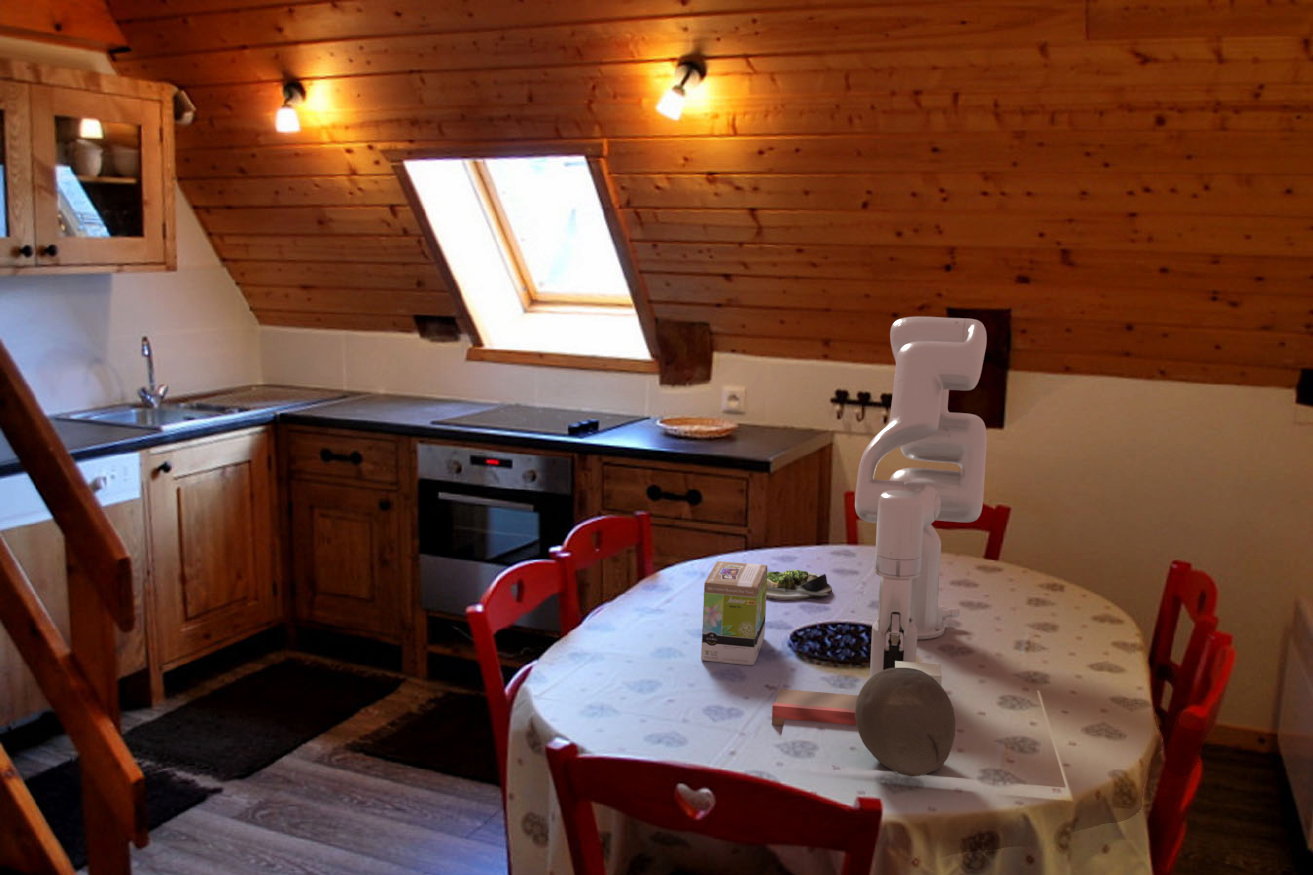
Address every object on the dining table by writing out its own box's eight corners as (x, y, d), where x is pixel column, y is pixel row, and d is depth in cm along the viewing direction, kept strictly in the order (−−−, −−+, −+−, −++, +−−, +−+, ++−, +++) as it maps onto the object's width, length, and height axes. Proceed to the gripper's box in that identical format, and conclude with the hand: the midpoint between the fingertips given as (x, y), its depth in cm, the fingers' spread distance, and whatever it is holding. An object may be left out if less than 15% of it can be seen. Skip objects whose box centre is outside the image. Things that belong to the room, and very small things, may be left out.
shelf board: (939, 709, 198) (940, 690, 197) (942, 739, 186) (943, 720, 185) (778, 695, 202) (779, 677, 202) (771, 724, 191) (772, 705, 190)
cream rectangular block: (937, 712, 193) (940, 664, 192) (938, 725, 188) (941, 676, 187) (892, 708, 195) (895, 660, 193) (892, 721, 190) (895, 672, 188)
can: (864, 677, 211) (867, 611, 209) (907, 676, 211) (910, 610, 209) (875, 694, 203) (879, 625, 201) (919, 693, 204) (923, 624, 202)
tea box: (756, 666, 215) (758, 586, 213) (699, 662, 217) (701, 582, 215) (765, 638, 230) (768, 562, 227) (713, 634, 232) (714, 558, 229)
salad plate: (749, 606, 249) (749, 584, 248) (730, 580, 266) (730, 560, 266) (840, 603, 252) (841, 581, 251) (815, 577, 270) (816, 557, 269)
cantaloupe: (952, 755, 181) (957, 659, 178) (952, 799, 167) (959, 695, 165) (855, 744, 184) (860, 650, 181) (848, 787, 170) (853, 685, 168)
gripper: (875, 550, 213) (871, 644, 215) (874, 577, 196) (869, 679, 199) (919, 552, 211) (914, 647, 214) (922, 580, 194) (916, 683, 197)
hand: (892, 662), depth 206 cm, fingers open, 9 cm apart
